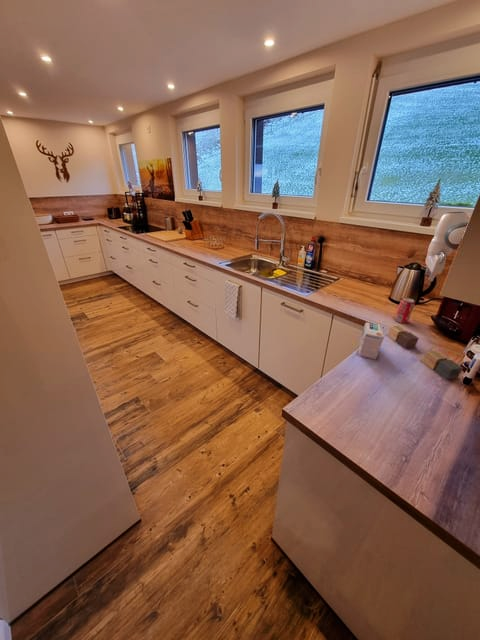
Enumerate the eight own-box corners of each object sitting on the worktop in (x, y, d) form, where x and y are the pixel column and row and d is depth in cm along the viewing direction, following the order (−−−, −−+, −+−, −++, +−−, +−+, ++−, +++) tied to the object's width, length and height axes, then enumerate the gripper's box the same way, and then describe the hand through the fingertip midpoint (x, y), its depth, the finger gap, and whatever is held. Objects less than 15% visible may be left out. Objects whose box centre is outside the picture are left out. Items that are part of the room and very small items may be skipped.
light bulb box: (358, 342, 116) (365, 321, 111) (375, 346, 114) (382, 324, 108) (358, 355, 107) (365, 333, 102) (376, 360, 105) (384, 337, 100)
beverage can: (406, 319, 137) (415, 298, 131) (408, 325, 132) (416, 303, 126) (393, 317, 139) (401, 296, 133) (394, 322, 134) (402, 300, 128)
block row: (396, 334, 123) (399, 325, 121) (457, 378, 97) (463, 367, 94) (387, 335, 122) (390, 326, 120) (446, 380, 96) (452, 369, 93)
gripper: (453, 255, 111) (440, 285, 117) (443, 245, 127) (432, 273, 134) (436, 253, 113) (424, 283, 120) (428, 244, 129) (418, 271, 136)
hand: (428, 277), depth 127 cm, fingers open, 8 cm apart
